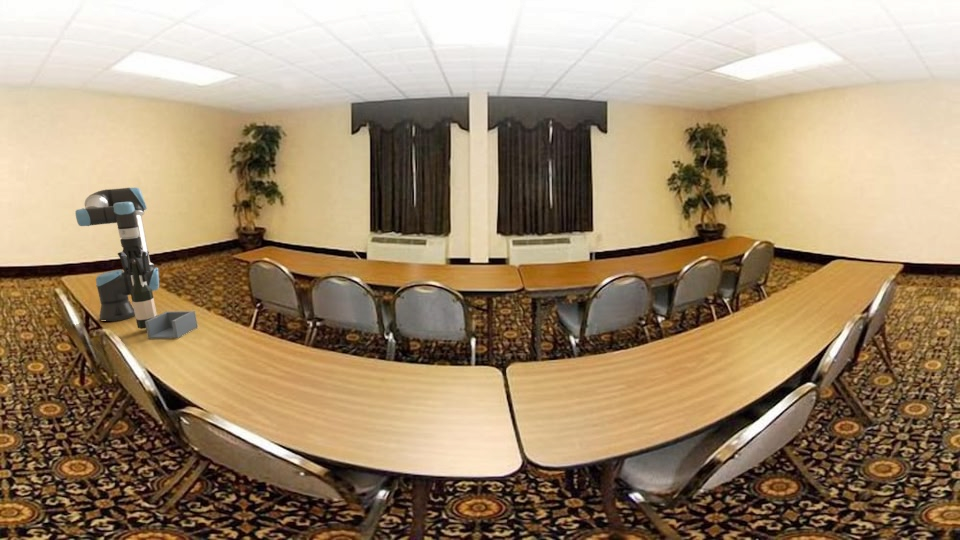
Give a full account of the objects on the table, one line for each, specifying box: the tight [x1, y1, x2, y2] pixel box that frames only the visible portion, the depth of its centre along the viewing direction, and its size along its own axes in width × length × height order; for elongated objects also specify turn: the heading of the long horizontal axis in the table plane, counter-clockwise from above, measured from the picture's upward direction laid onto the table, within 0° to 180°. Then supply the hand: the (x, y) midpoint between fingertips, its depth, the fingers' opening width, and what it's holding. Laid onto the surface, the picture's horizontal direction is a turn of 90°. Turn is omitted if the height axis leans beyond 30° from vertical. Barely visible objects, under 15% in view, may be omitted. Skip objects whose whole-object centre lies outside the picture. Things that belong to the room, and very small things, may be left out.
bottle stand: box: [145, 310, 199, 340], centre depth 244 cm, size 14×14×8 cm
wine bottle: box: [130, 261, 158, 330], centre depth 247 cm, size 8×8×30 cm
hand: (140, 288), depth 246 cm, fingers closed on wine bottle, 3 cm apart
